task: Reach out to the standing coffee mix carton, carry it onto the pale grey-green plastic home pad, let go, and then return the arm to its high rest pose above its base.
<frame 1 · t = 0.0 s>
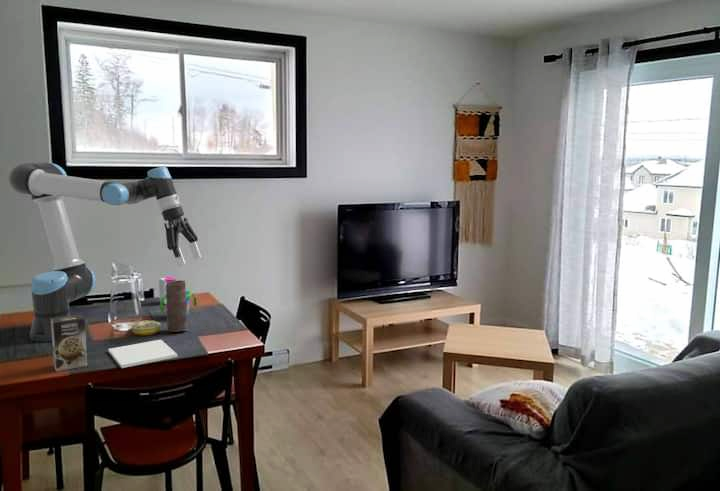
hand: (190, 261, 212), 28 cm above the table, tool tilted 20°, fingers open, 13 cm apart
coffee box: (70, 366, 181), on the table
candle: (177, 331, 217), on the table
home pad: (142, 354, 192), on the table
supplement box: (168, 303, 257), on the table
snack cup: (179, 317, 236), on the table
decorated donut: (146, 332, 216), on the table
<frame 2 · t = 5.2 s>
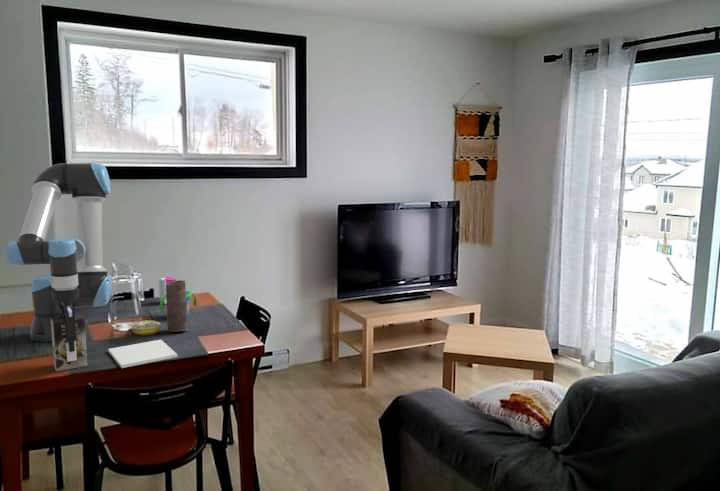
hand: (70, 357, 181), 3 cm above the table, tool pointing down, fingers closed on coffee box, 6 cm apart
coffee box: (70, 366, 181), on the table, touching gripper
everything else where it was.
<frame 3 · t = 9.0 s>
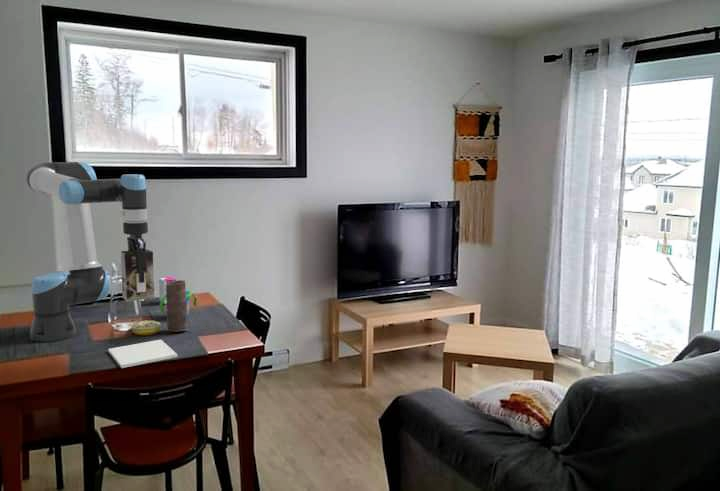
hand: (138, 289, 188), 23 cm above the table, tool pointing down, fingers closed on coffee box, 6 cm apart
coffee box: (138, 298, 189), point 20 cm above the table, touching gripper
everything else where it was.
when the fingers open (5 cm above the table, at t = 12.7 s): coffee box drops 1 cm, resting on home pad.
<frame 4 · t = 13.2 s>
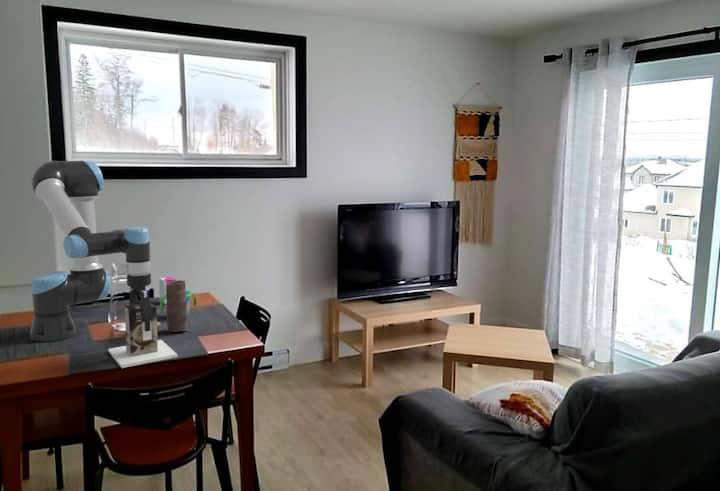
hand: (141, 334, 191), 7 cm above the table, tool pointing down, fingers open, 13 cm apart
coffee box: (142, 352, 192), point 1 cm above the table, touching home pad
everything else where it was.
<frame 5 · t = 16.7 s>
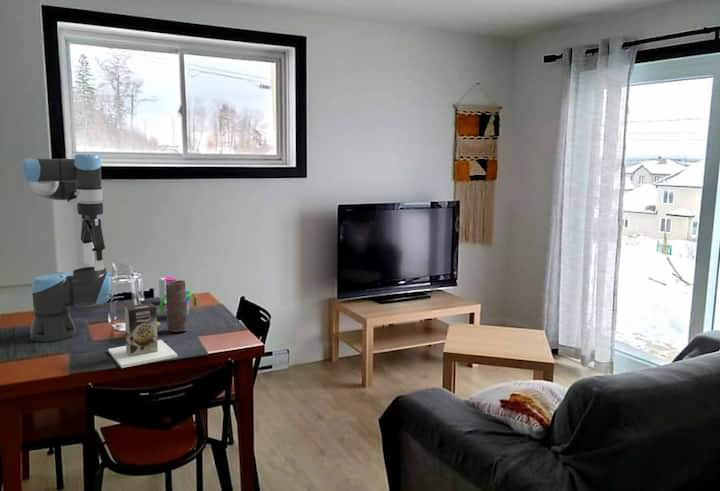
hand: (93, 266, 185), 31 cm above the table, tool pointing down, fingers open, 13 cm apart
nothing on the table moved.
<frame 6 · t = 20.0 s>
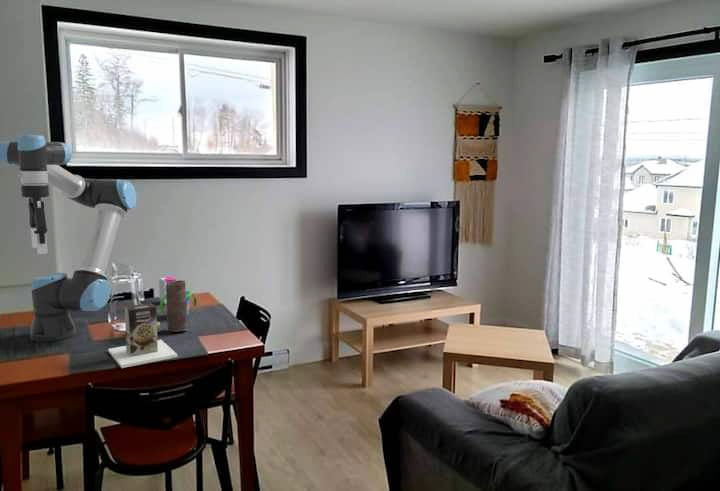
hand: (39, 250, 181), 37 cm above the table, tool pointing down, fingers open, 13 cm apart
nothing on the table moved.
at the end: coffee box inside the target area on the home pad (0.1 cm from its centre), point 0.8 cm above the home pad's base; coffee box tilted 0°; the gripper is holding nothing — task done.
